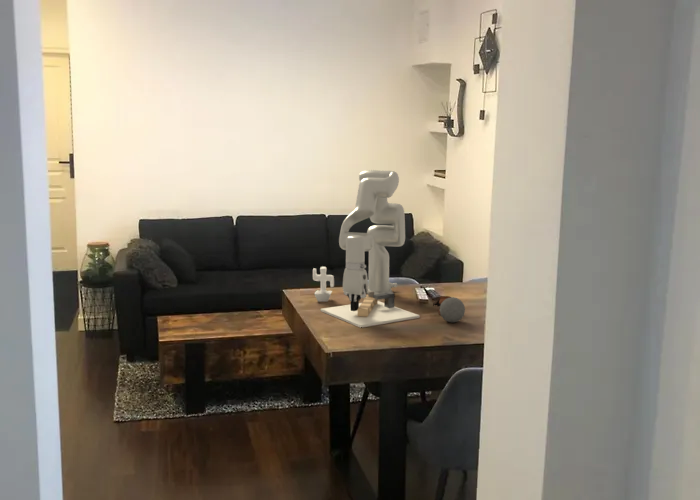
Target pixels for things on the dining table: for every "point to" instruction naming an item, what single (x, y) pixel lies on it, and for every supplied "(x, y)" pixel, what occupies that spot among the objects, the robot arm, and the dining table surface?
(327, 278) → the figurine
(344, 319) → the pivot board
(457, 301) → the decorative ball
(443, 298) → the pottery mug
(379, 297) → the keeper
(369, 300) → the oak link
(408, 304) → the dining table surface
